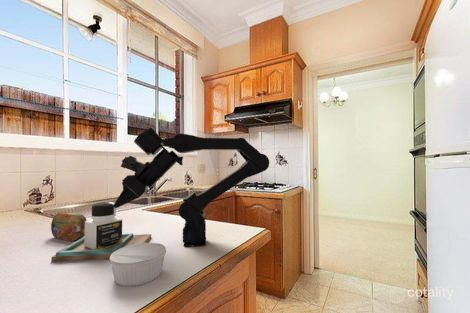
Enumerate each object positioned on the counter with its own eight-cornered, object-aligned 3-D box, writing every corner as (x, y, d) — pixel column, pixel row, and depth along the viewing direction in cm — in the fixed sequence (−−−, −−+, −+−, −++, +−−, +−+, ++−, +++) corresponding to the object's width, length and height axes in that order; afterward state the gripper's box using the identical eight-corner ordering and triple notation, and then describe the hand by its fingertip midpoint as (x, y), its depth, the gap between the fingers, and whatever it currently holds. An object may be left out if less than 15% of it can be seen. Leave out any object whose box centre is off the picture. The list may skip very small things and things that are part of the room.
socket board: (151, 237, 73) (151, 231, 73) (134, 257, 57) (135, 248, 58) (86, 240, 71) (86, 233, 71) (51, 261, 55) (51, 252, 55)
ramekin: (105, 295, 41) (106, 266, 41) (112, 269, 51) (112, 246, 51) (168, 282, 45) (168, 256, 45) (163, 261, 55) (163, 239, 56)
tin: (49, 237, 74) (50, 212, 75) (60, 235, 77) (60, 210, 78) (79, 243, 69) (79, 216, 69) (89, 240, 72) (89, 213, 72)
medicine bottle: (96, 251, 58) (97, 205, 59) (83, 246, 62) (84, 203, 63) (122, 243, 64) (123, 202, 65) (109, 239, 68) (110, 200, 69)
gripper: (145, 149, 76) (109, 183, 73) (131, 144, 57) (83, 188, 55) (169, 172, 77) (135, 205, 74) (163, 174, 59) (117, 218, 56)
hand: (119, 204), depth 65 cm, fingers open, 9 cm apart
